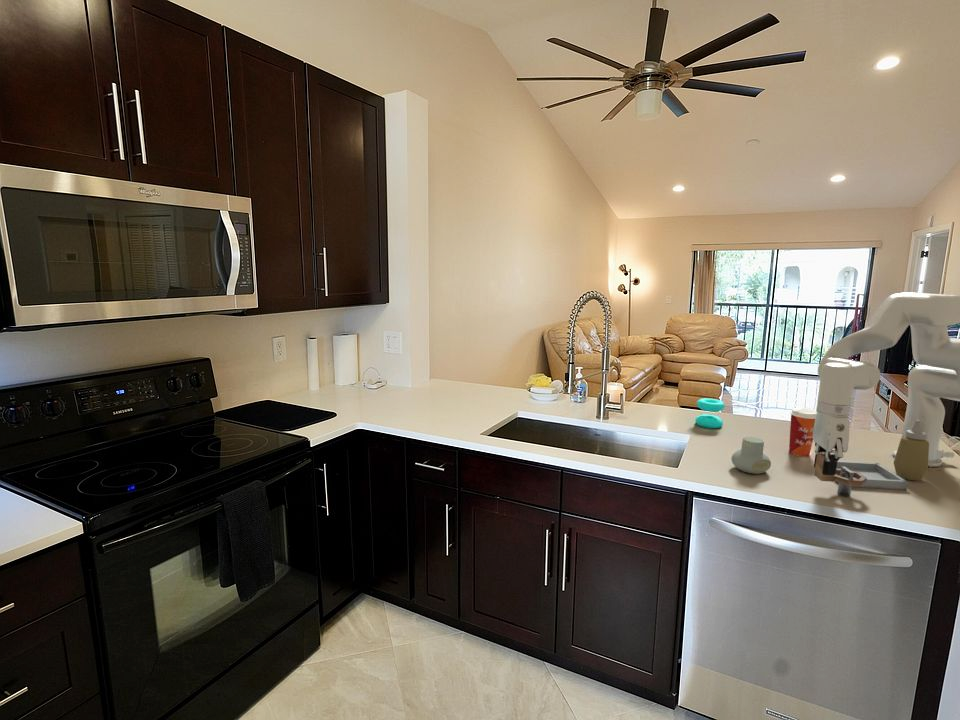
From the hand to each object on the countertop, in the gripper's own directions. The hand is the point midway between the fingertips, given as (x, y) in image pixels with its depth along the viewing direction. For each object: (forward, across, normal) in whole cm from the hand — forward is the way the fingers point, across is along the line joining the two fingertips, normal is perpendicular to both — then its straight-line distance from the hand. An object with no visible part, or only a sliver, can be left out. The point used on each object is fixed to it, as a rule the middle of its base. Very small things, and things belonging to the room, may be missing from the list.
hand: (824, 470), depth 145 cm
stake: (+7, 0, -6) cm, 9 cm away
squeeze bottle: (+7, +16, -32) cm, 36 cm away
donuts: (+7, +59, +14) cm, 61 cm away
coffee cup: (+7, +32, -8) cm, 33 cm away
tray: (+7, +13, -17) cm, 22 cm away
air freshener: (+7, +14, +14) cm, 21 cm away
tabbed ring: (+2, 0, -4) cm, 5 cm away
